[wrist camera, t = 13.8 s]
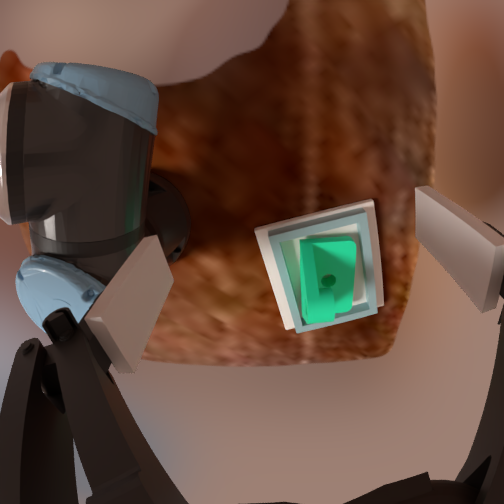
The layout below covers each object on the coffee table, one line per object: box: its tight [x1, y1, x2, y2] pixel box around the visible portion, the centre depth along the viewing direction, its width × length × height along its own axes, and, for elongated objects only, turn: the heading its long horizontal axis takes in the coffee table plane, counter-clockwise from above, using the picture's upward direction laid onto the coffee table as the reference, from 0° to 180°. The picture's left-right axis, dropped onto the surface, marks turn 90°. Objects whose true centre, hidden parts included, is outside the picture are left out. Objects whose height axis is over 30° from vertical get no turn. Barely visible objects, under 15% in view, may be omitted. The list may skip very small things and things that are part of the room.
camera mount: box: [299, 236, 356, 324], centre depth 40 cm, size 12×8×10 cm, turn 6°
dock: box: [254, 199, 384, 333], centre depth 44 cm, size 17×18×3 cm
